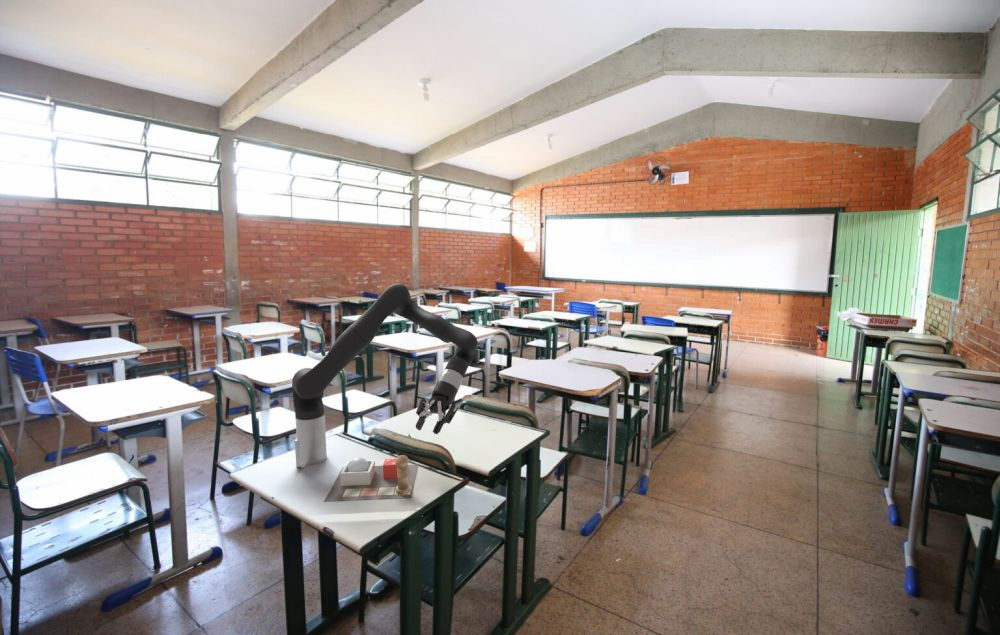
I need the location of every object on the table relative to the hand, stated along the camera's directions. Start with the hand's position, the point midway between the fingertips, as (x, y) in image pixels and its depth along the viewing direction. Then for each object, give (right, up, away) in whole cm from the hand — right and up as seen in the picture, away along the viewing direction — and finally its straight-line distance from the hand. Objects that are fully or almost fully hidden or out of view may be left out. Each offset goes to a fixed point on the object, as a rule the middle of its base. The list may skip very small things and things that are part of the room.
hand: (426, 431), depth 148 cm
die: (-12, -15, +2) cm, 19 cm away
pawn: (-6, -16, -8) cm, 19 cm away
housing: (-21, -15, 0) cm, 26 cm away
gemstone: (-10, -13, +27) cm, 32 cm away
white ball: (-21, -15, 0) cm, 26 cm away
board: (-16, -17, -2) cm, 23 cm away
